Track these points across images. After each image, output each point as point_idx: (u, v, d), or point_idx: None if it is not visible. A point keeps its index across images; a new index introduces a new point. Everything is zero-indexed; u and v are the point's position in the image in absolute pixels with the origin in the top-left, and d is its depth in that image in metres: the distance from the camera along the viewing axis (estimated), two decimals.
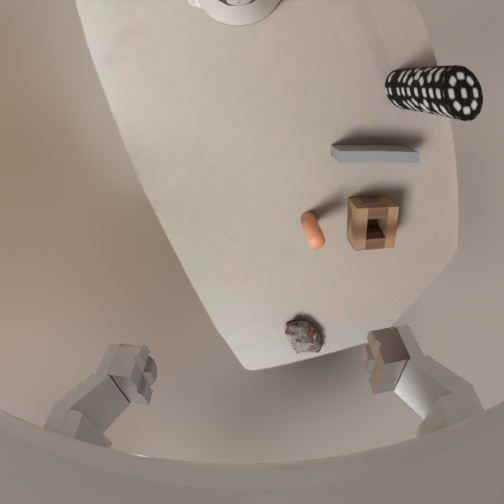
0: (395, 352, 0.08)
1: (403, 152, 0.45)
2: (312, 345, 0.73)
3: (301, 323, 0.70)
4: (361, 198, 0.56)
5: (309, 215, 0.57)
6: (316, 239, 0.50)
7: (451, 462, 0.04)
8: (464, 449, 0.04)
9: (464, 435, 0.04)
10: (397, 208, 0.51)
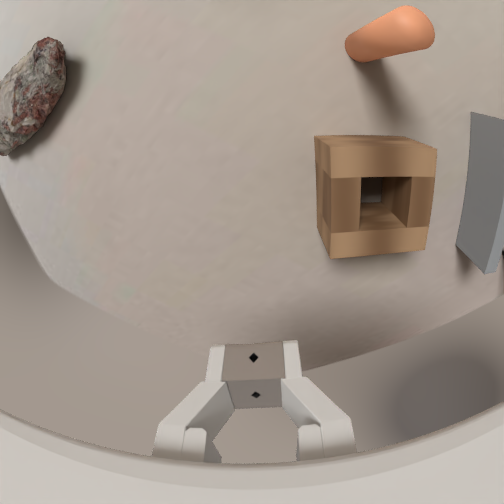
0: (270, 369, 0.08)
1: (502, 243, 0.21)
2: (7, 124, 0.19)
3: (60, 71, 0.18)
4: None
5: None
6: (419, 27, 0.11)
7: (451, 462, 0.04)
8: (464, 449, 0.04)
9: (464, 435, 0.04)
10: (421, 247, 0.22)
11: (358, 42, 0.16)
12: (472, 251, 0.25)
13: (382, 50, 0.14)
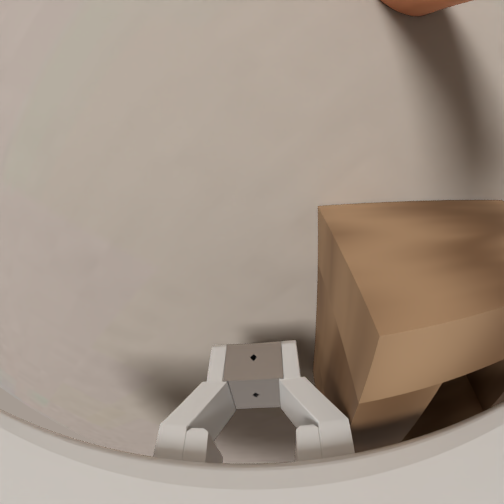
0: (268, 369, 0.08)
1: None
2: None
3: None
4: None
5: None
6: None
7: (451, 462, 0.04)
8: (464, 449, 0.04)
9: (464, 435, 0.04)
10: None
11: None
12: None
13: None
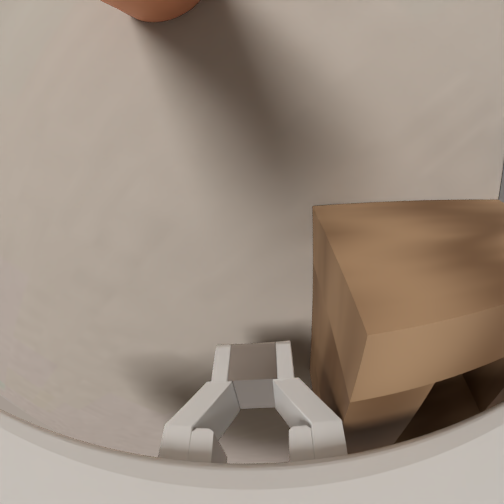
0: (262, 369, 0.08)
1: None
2: None
3: None
4: None
5: None
6: None
7: (451, 462, 0.04)
8: (464, 449, 0.04)
9: (464, 435, 0.04)
10: None
11: None
12: None
13: None
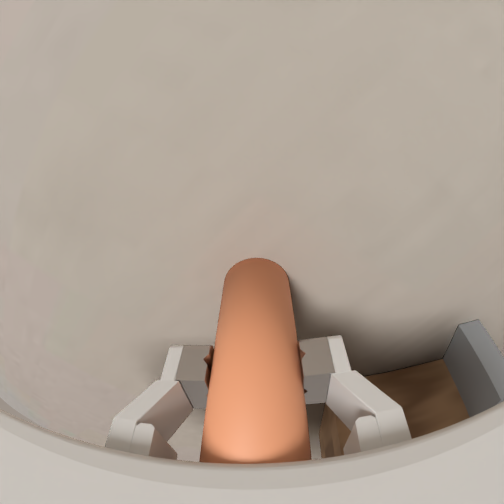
0: (319, 364, 0.08)
1: None
2: None
3: None
4: None
5: None
6: None
7: (451, 462, 0.04)
8: (464, 449, 0.04)
9: (464, 435, 0.04)
10: None
11: None
12: None
13: None
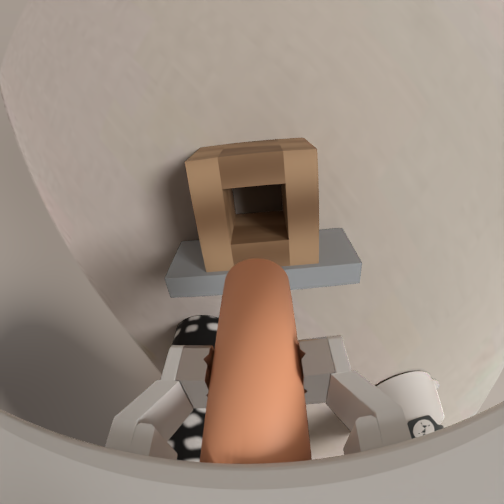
0: (319, 364, 0.08)
1: (209, 293, 0.24)
2: None
3: None
4: None
5: None
6: None
7: (451, 462, 0.04)
8: (464, 449, 0.04)
9: (464, 435, 0.04)
10: (209, 267, 0.23)
11: None
12: (184, 258, 0.26)
13: None
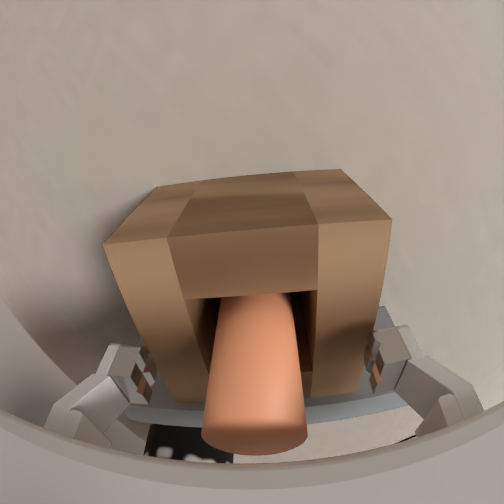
0: (395, 352, 0.08)
1: None
2: None
3: None
4: None
5: None
6: (266, 438, 0.07)
7: (451, 462, 0.04)
8: (464, 449, 0.04)
9: (464, 435, 0.04)
10: (178, 397, 0.13)
11: None
12: None
13: None
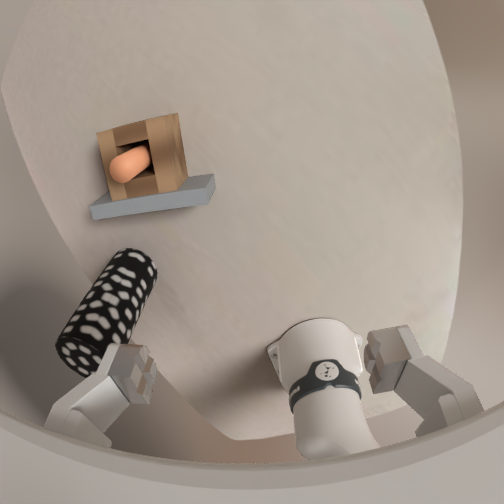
0: (395, 352, 0.08)
1: (114, 215, 0.34)
2: None
3: None
4: None
5: None
6: (124, 168, 0.27)
7: (451, 462, 0.04)
8: (464, 449, 0.04)
9: (464, 435, 0.04)
10: (113, 197, 0.33)
11: None
12: (105, 197, 0.36)
13: None
